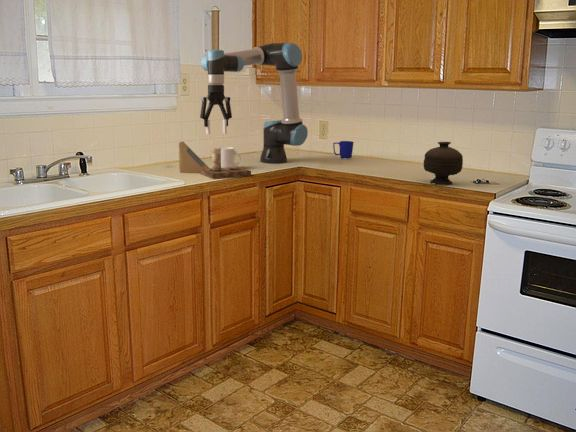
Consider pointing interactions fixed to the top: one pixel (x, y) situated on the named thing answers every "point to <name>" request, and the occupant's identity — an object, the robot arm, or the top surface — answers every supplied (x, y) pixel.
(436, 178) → the pot
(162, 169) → the top surface
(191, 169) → the sandwich container
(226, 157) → the mug
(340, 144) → the mug
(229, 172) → the board
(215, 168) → the peg
